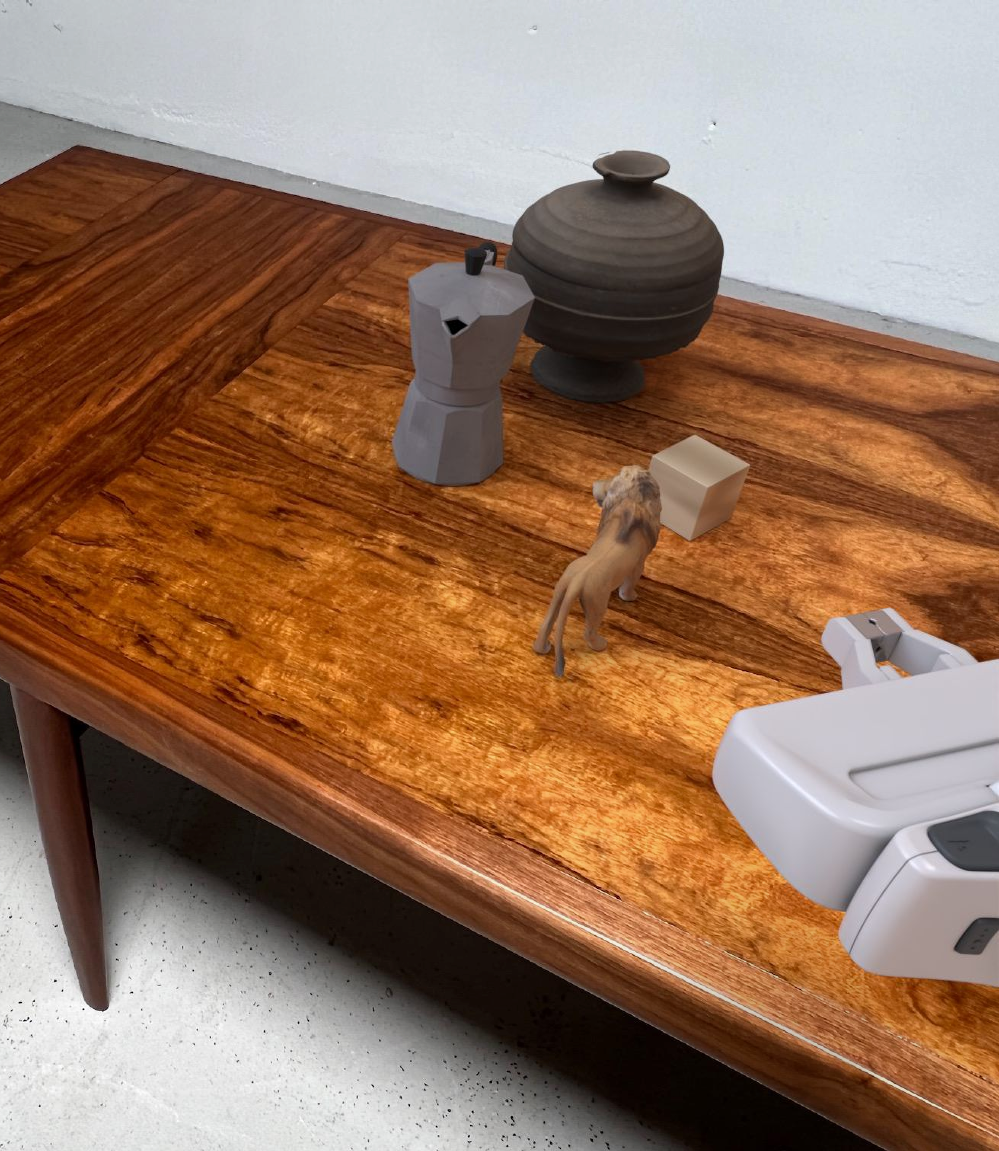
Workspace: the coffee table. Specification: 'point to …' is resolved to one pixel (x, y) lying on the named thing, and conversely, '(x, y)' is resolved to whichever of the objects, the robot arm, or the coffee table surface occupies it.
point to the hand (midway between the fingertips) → (852, 623)
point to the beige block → (697, 485)
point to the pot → (614, 276)
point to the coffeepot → (460, 367)
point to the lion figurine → (607, 558)
